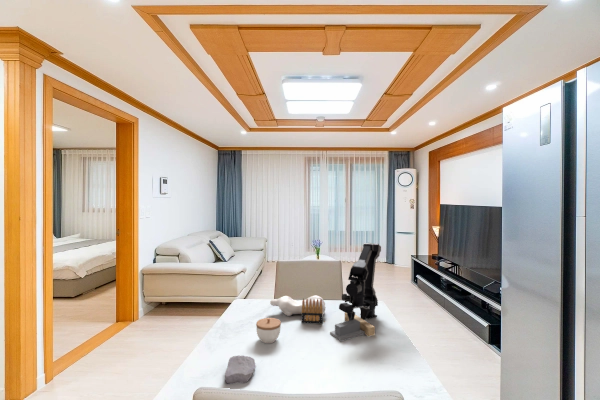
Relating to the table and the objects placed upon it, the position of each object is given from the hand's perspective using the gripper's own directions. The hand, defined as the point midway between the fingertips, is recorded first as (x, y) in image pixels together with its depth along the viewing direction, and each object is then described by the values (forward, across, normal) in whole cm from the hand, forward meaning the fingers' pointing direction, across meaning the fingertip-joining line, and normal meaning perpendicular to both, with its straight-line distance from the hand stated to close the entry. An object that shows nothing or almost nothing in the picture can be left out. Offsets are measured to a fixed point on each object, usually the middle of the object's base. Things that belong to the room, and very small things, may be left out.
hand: (356, 323), depth 143 cm
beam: (+2, -1, 0) cm, 2 cm away
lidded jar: (+5, +42, -8) cm, 44 cm away
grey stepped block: (+2, +8, +4) cm, 9 cm away
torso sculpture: (+3, +16, -29) cm, 34 cm away
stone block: (+6, +61, +10) cm, 62 cm away
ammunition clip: (+3, +16, -15) cm, 22 cm away
